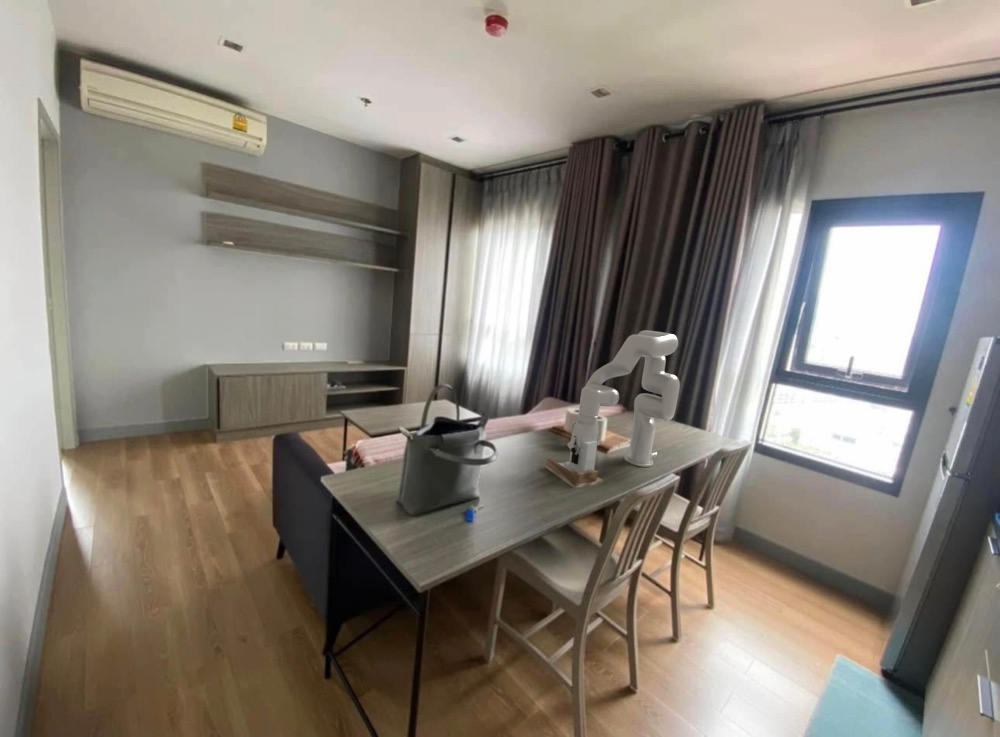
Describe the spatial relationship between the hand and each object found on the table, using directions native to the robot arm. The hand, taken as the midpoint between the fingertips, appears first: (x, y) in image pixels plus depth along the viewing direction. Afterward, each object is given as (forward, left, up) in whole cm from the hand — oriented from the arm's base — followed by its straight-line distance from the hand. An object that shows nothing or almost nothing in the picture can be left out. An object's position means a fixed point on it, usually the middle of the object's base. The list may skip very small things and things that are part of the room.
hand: (582, 461), depth 163 cm
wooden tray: (+1, -3, -7) cm, 8 cm away
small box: (0, 0, -4) cm, 4 cm away
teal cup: (-22, -27, -7) cm, 36 cm away
